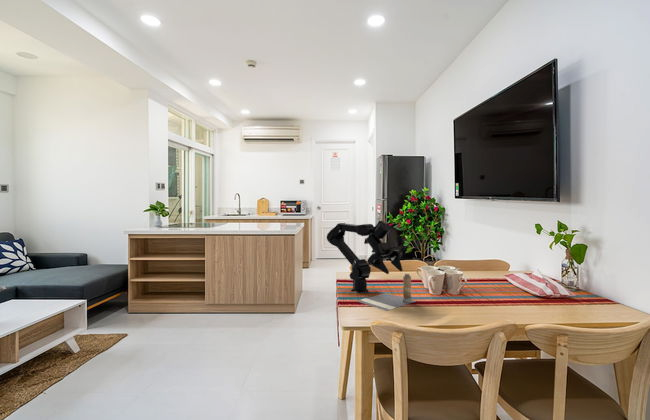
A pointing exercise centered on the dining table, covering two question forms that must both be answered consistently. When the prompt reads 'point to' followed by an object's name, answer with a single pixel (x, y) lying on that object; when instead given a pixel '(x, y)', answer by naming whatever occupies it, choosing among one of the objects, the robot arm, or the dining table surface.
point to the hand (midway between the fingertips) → (395, 272)
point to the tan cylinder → (407, 288)
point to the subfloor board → (385, 301)
